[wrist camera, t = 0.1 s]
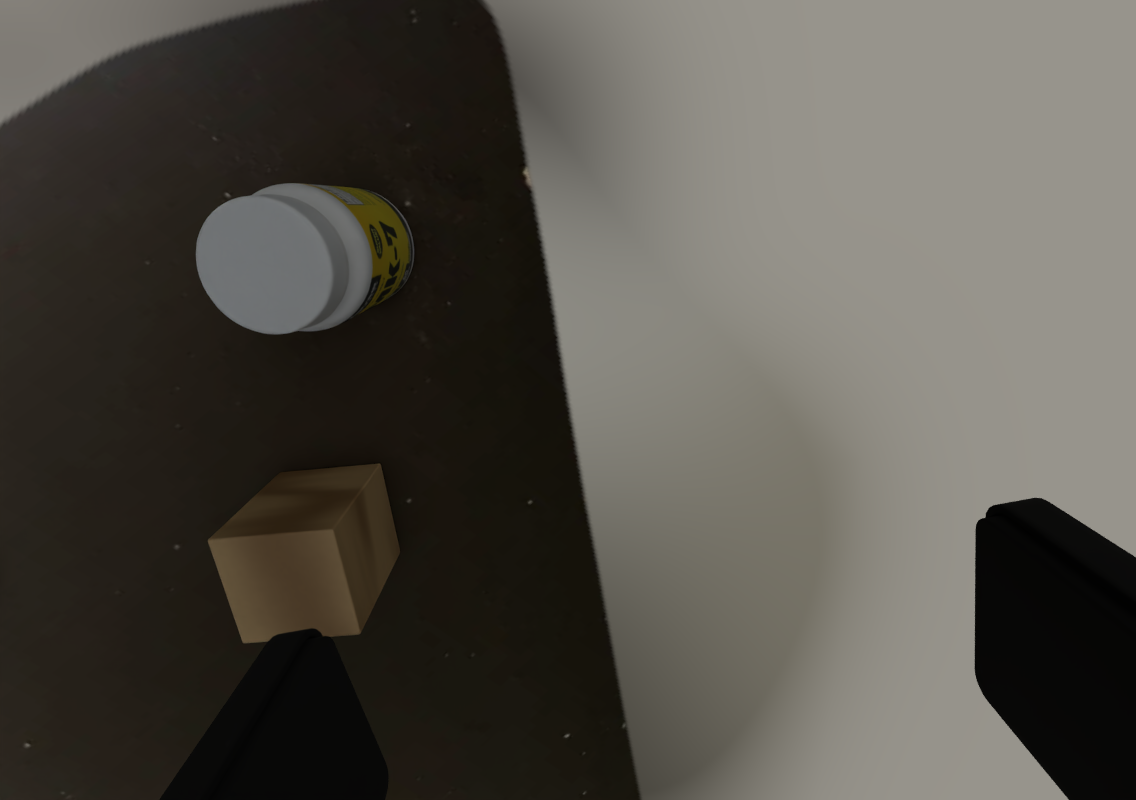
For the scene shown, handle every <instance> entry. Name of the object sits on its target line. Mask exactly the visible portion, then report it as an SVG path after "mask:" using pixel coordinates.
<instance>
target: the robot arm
mask: <svg viewBox="0 0 1136 800" xmlns="http://www.w3.org/2000/svg"><path fill="white" fill-rule="evenodd" d="M975 559H976V561H975V567H976V568H975V675H976V679H977V682H978V685H979V687H980V689H981V691H982V693H983V695H984V696H985V698H986V699H987V701H988V702H989V703H990V704H991V706H992V707H993V708H994V709H995V710H996V712H997V713H998V714H999V715H1000V716H1001V718H1002V719H1003V720H1004V721H1005V723H1006V724H1007V725H1008V726H1009V728H1010V729H1011V730H1012V731H1013V732H1014V734H1015V735H1016V736H1017V737H1018V738H1019V740H1020V741H1021V742H1022V743H1023V744H1024V746H1025V747H1026V748H1027V749H1028V750H1029V752H1030V753H1031V754H1032V755H1033V756H1034V758H1035V759H1036V760H1037V762H1038V763H1039V764H1040V765H1041V766H1042V767H1043V769H1044V770H1045V771H1046V772H1047V774H1048V775H1049V776H1050V777H1051V779H1052V780H1053V781H1054V782H1055V783H1056V785H1057V786H1058V787H1059V788H1060V789H1061V791H1062V792H1063V793H1064V794H1065V796H1067V798H1068V799H1069V800H1136V557H1134V556H1133V555H1131V554H1130V553H1128V552H1126V551H1125V550H1123V549H1122V548H1120V547H1119V546H1117V545H1116V544H1114V543H1112V542H1111V541H1109V540H1108V539H1106V538H1104V537H1103V536H1101V535H1100V534H1098V533H1097V532H1095V531H1093V530H1092V529H1090V528H1089V527H1087V526H1086V525H1084V524H1083V523H1081V522H1080V521H1078V520H1076V519H1075V518H1073V517H1072V516H1070V515H1069V514H1067V513H1065V512H1064V511H1062V510H1061V509H1059V508H1057V507H1056V506H1055V505H1053V504H1051V503H1050V502H1048V501H1046V500H1044V499H1042V498H1031V499H1026V500H1020V501H1016V502H1009V503H1004V504H998V505H993V506H992V507H990V508H989V509H988V511H987V512H986V518H982V519H980V520H979V521H978V522H977V524H976V558H975ZM387 789H388V769H387V765H386V762H385V760H384V758H383V755H382V753H381V751H380V748H379V746H378V744H377V741H376V739H375V737H374V734H373V732H372V730H371V727H370V725H369V723H368V720H367V718H366V716H365V713H364V711H363V709H362V706H361V704H360V702H359V699H358V697H357V695H356V692H355V690H354V688H353V685H352V683H351V681H350V678H349V676H348V674H347V671H346V669H345V667H344V664H343V662H342V660H341V657H340V655H339V653H338V650H337V648H336V646H335V644H334V642H333V640H332V639H331V638H330V637H329V636H323V635H322V634H321V632H320V631H318V630H317V629H314V628H310V629H304V630H299V631H293V632H288V633H282V634H277V635H275V636H273V637H272V638H271V639H270V640H269V641H268V642H267V644H266V645H265V647H264V648H263V650H262V651H261V653H260V654H259V655H258V657H257V658H256V660H255V661H254V663H253V664H252V666H251V667H250V669H249V670H248V672H247V673H246V674H245V676H244V677H243V679H242V680H241V682H240V683H239V685H238V686H237V688H236V689H235V690H234V692H233V693H232V695H231V696H230V698H229V699H228V701H227V702H226V704H225V705H224V706H223V708H222V709H221V711H220V712H219V714H218V715H217V717H216V718H215V720H214V721H213V722H212V724H211V725H210V727H209V728H208V730H207V731H206V733H205V734H204V736H203V737H202V738H201V740H200V741H199V743H198V744H197V746H196V747H195V749H194V750H193V752H192V753H191V754H190V756H189V757H188V759H187V760H186V762H185V763H184V765H183V766H182V768H181V769H180V770H179V772H178V773H177V775H176V776H175V778H174V779H173V781H172V782H171V784H170V785H169V786H168V788H167V789H166V791H165V792H164V794H163V795H162V797H161V798H160V800H385V797H386V794H387Z"/></svg>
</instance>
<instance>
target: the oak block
mask: <svg viewBox="0 0 1136 800" xmlns="http://www.w3.org/2000/svg"><path fill="white" fill-rule="evenodd" d="M208 543H209V546H210V549H211V552H212V555H213V558H214V560H215V563H216V566H217V569H218V572H219V575H220V578H221V581H222V584H223V587H224V589H225V592H226V595H227V598H228V601H229V604H230V607H231V610H232V613H233V616H234V618H235V621H236V624H237V627H238V630H239V633H240V636H241V639H242V642H243V643H253V642H266V641H269V640H270V639H271V638H272V637H273V636H275V635H277V634H282V633H288V632H293V631H299V630H304V629H310V628H314V629H317V630H318V631H320V632H321V634H322V635H323V636H329V637H332V636H345V635H358V634H360V633H361V631H362V629H363V627H364V625H365V623H366V621H367V619H368V617H369V615H370V613H371V611H372V609H373V607H374V605H375V603H376V601H377V599H378V597H379V595H380V593H381V590H382V588H383V586H384V584H385V582H386V580H387V578H388V576H389V574H390V572H391V570H392V568H393V566H394V564H395V562H396V560H397V558H398V556H399V554H400V548H399V544H398V539H397V535H396V530H395V526H394V521H393V517H392V512H391V508H390V503H389V499H388V494H387V490H386V485H385V481H384V476H383V472H382V467H381V464H368V465H357V466H346V467H334V468H323V469H312V470H300V471H289V472H280V473H279V474H278V475H277V476H276V477H274V478H273V479H272V480H271V481H270V482H269V483H268V484H267V485H266V486H265V487H264V488H263V489H262V490H261V491H260V492H258V493H257V494H256V495H255V496H254V497H253V498H252V499H251V500H250V501H249V502H248V503H247V504H246V505H245V506H244V507H242V508H241V509H240V510H239V511H238V512H237V513H236V514H235V515H234V516H233V517H232V518H231V519H230V520H229V521H227V522H226V523H225V524H224V525H223V526H222V527H221V528H220V529H219V530H218V531H217V532H216V533H215V534H214V535H213V536H211V537H210V538H209V539H208Z"/></svg>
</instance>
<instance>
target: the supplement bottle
mask: <svg viewBox="0 0 1136 800" xmlns="http://www.w3.org/2000/svg"><path fill="white" fill-rule="evenodd" d="M413 262H414V243H413V238H412V234H411V231H410V228H409V226H408V224H407V222H406V220H405V218H404V217H403V215H402V214H401V213H400V211H399V210H398V209H397V208H396V207H395V206H394V205H393V204H392V203H390V202H389V201H388V200H387V199H385V198H384V197H382V196H380V195H379V194H376V193H374V192H372V191H369V190H365V189H361V188H350V187H339V186H326V185H313V184H298V183H285V184H278V185H273V186H270V187H267V188H264V189H262V190H260V191H258V192H256V193H254V194H253V195H251V196H244V197H239V198H235V199H232V200H230V201H228V202H226V203H224V204H222V205H221V206H219V207H218V208H217V209H216V210H214V211H213V212H212V213H211V214H210V215H209V217H208V218H207V219H206V221H205V222H204V224H203V226H202V228H201V230H200V233H199V236H198V239H197V244H196V263H197V269H198V273H199V276H200V279H201V282H202V284H203V287H204V288H205V290H206V292H207V294H208V295H209V297H210V298H211V300H212V301H213V302H214V304H215V305H216V306H217V307H218V308H219V309H220V310H221V311H222V312H223V313H224V314H225V315H226V316H227V317H229V318H230V319H231V320H233V321H234V322H236V323H238V324H239V325H241V326H243V327H245V328H248V329H250V330H253V331H256V332H260V333H265V334H286V333H292V332H295V331H319V330H325V329H329V328H332V327H335V326H337V325H339V324H341V323H344V322H346V321H347V320H349V319H351V318H353V317H355V316H356V315H358V314H360V313H362V312H364V311H366V310H368V309H370V308H372V307H373V306H375V305H377V304H379V303H381V302H383V301H385V300H387V299H388V298H390V297H391V296H393V295H394V294H395V293H397V292H398V291H399V290H400V289H401V288H402V287H403V285H404V284H405V283H406V281H407V279H408V277H409V275H410V273H411V270H412V267H413Z"/></svg>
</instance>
